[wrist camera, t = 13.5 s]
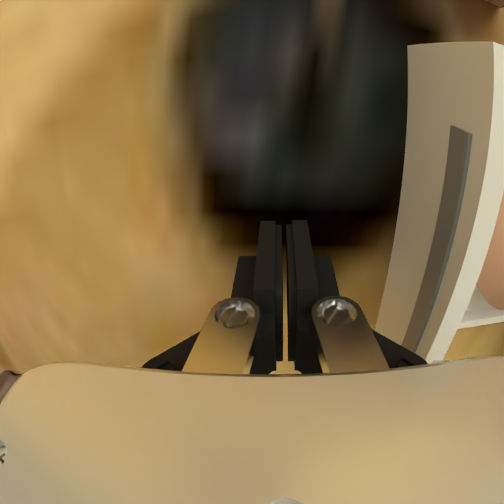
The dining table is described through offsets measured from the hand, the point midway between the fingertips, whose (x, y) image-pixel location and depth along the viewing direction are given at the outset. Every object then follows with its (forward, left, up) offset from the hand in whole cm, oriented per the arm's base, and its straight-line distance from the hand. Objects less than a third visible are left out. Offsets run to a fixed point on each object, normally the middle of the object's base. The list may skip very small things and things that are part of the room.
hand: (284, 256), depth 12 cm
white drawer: (+12, 0, -2) cm, 12 cm away
